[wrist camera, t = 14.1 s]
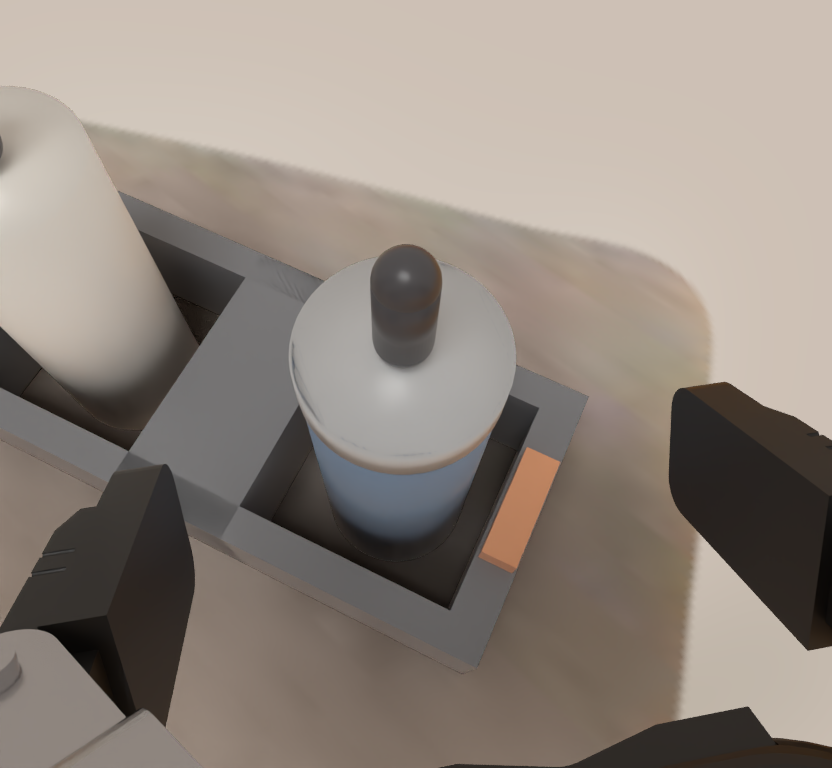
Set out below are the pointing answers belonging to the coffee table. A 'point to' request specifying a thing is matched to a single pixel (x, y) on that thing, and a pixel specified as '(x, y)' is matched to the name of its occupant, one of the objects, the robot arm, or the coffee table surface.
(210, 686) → the coffee table surface
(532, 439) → the gray two-compartment caddy
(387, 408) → the canister
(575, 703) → the coffee table surface
